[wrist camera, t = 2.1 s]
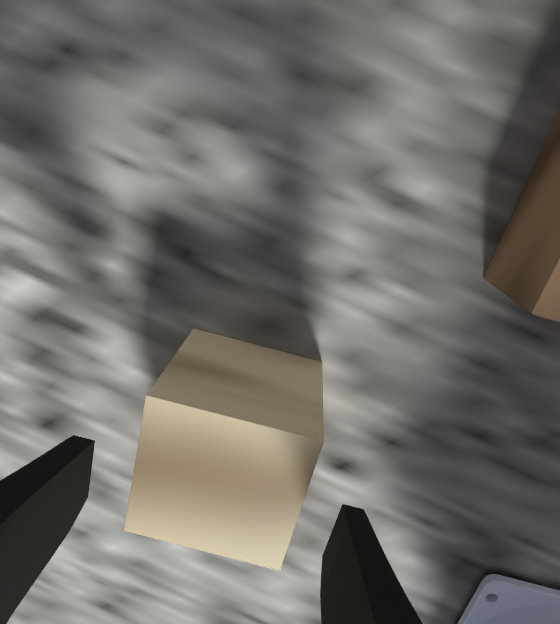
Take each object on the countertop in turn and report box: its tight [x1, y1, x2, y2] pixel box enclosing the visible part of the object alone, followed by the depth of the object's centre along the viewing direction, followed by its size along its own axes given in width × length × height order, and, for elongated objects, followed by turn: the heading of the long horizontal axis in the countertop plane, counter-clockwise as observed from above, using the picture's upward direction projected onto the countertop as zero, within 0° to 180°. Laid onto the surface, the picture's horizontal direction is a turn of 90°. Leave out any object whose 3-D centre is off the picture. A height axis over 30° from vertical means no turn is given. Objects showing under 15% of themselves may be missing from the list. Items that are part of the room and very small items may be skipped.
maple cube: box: [124, 328, 324, 571], centre depth 15 cm, size 5×5×5 cm
